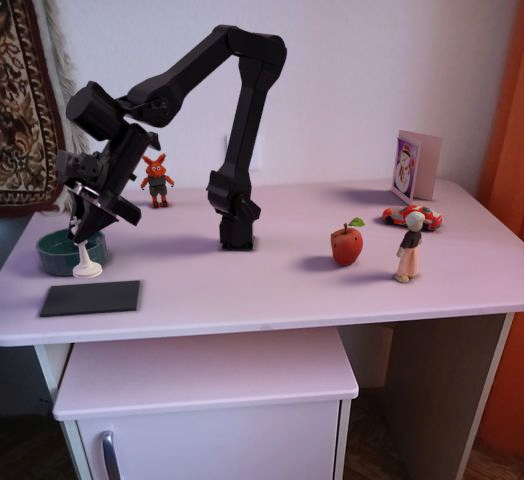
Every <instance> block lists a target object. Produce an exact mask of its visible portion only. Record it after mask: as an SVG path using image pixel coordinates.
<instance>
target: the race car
mask: <svg viewBox="0 0 524 480" xmlns="http://www.w3.org/2000/svg"><path fill="white" fill-rule="evenodd" d="M414 211H417V212H420V213H422V214H424V216H425V219H424V221H423V225H422V228H421V229H420V231H421V232H422V231H423V232H425V231H426V232H427V231H430V230H431V231H433V230H434V231H435V230H437V229H439V228H440V227H441V226H442V224H443V223H442V222H443V218H442V217H443V215H442V213H440V212H438V211H435V210H434V209H431V208H429V207H426V206H422V205H417V204H412V205H411V206H410V205H407V206H403V207H399V206H393V207H389V208H386V209H384V210H383V212H382V216H381V218H382V220H383V221H384V222H385V223H386V224H387V225H393V224H394V225H400V226H404V227H405V226H406V227H408V225H407V224H406V220H405V218H406V217H407V215H409V214H410V213H412V212H414Z"/></svg>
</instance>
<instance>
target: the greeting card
mask: <svg viewBox="0 0 524 480" xmlns="http://www.w3.org/2000/svg"><path fill="white" fill-rule="evenodd" d="M396 138H397V144H396V152H395V157H394V165H393V172H392V180H391V188H390V191H391V192H392V193H394V194H395V195H396V196H397V197H399V198H400V199H401V200H402V201H404V202H405V203H406V204H407V205H408V206H411V205H413V200H414V197H415V198H418V199H422V200H426V201H430V202H432V201H433V197H434V191H435V186H436V185H435V184H436V179H437V175H438V170H439V163H440V159H441V153H442V146H443V141H444V137H442V136H436V135H432V134H426V133H420V132H415V131H410V130H409V131H408V130H404V129H398V136H397V137H396Z"/></svg>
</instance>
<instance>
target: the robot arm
mask: <svg viewBox="0 0 524 480" xmlns="http://www.w3.org/2000/svg"><path fill="white" fill-rule="evenodd" d="M286 46H287V45H286V43H285V41H284V39H283V37H281V36H280V35H278V34H271V33H262V32H255V31H254V32H253V31H248V30H245V29H243V28H241V27H239V26H237V25H232V24H223V23H221V24H218V25H216V26H214V27H213V29H212V31H211V32H210V33H209V34H208V35H206V37H204V38H203V39H202V40H200V41H199V43H197V44H196V45H195V46H194V47H193V48H192V49H190V50H189V51H188V52H187V53H185V55H183V56H182V57H181V58H180V59H179V60H178V61H176V63H174V64H173V65H172V66H171V67H170V68H169V69H167V70H166V71H164V72H162V73H160V74H157V75H154V76H151V77H148V78H146V79H145V80H142V81H141V82H139V83H137V84H135V85H134V86H132V87H131V88H130V89H129V90H128V92H127V94H124V95H122V96H119V97H116V98H114V97H112V96H111V94H109V93H108V92H107V91H106V90H105V89H104V87H103V86H102V85H101V84H100V83H98V82H97V81H94V80H88V81H87V83H86V85H85V86H84V87H81V88H80V89H79V90H77V91H76V93H75V94H74V95H72V96H71V97H70V99H69V100H68V102H67V105H66V107H65V118H66V119H67V120H68V121H70V122H71V123H73V125H75V126H76V127H78V128H79V129H80V130H82V132H84V133H86V134H87V135H88V136H90V137H91V138H92V139H94V140H95V141H96V142H98V143H99V142H100V143H101V142H104V141H107V142H106V143H105V145H104V147H103V149H102V151H99V150H95V151H93V152H92V154H91V153H86V152H84V151H81V152H80V154H78V153H74V152H70V151H68V150H67V151H66V150H64V149H63V150H62V149H57V154H56V161H55V166H54V171H55V172H59V174H58V175H57V177H56V178H55V180H56V181H57V182H59V183H61V184H63V185H64V186H65V187H67V189H66V192H67V193H68V194H69V197H70V200H71V204H72V205H71V213H70V217H69V222H68V227H67V228H68V232H67V238H68V239H70V240H73V242H74V243H76V244H78V245H79V244H80V243H82V242H83V241H85V240H87V239H88V238H90V237H91V236H93V235H94V234H96V233H97V232H99V231H103V230H105V228H107V227H109V226H111V225H113V224H114V223H119V222H121V221H120V220H121V219H123V220H124V221H125V222H127V223H128V224H130V225H132V226H133V227H137V226H138V224H139V222H140V221H141V219H142V218H143V215H142V209H141V208H140V207H138V206H137V205H135V204H134V203H133V202H132V201H130V200H128V199H127V198H125V197H124V196H122V194H123V192H124V190H125V188H126V187H127V184H128V183H129V181H132V182H134V183H135V181H136V180H137V178H138V176H137V175H136V174H135V173H134V172H135V171H136V169H137V168H138V166H139V163H140V162H141V160H143V159H142V157H143V155H144V156H145V153H146V152H147V150H148V149H151V150H154V151H157V152H161V151H162V145H161V143H160V140H159V133H158V132H154V131H151V130H150V131H147V130H146V128H144V127H143V126H142V125H140V124H143V125H146V126H149V127H152V128H156V129H163V128H166V127H167V126H169V125H170V124H171V122H172V121H173V120H174V119H175V117H176V116H177V115H178V113H180V111H181V110H182V108H183V104H184V101H185V99H186V97H188V95H189V94H190V93H191V92H192V91H193V90H194V89H195V88H197V87H198V86H199V85H200V84H202V83H203V81H204V80H206V79H207V78H208V77H209V76H210V75H212V73H213V72H215V71H216V70H217V69H218V68H219V67H220V66H222V64H224V63H226V61H227V60H228V59H229V58H231V57H232V56H233V57H236V58H238V62H237V63H238V65H237V67H238V71H239V77H240V81H241V84H240V85H241V87H240V91H239V96H238V100H237V103H236V108H235V114H234V117H233V122H232V126H231V131H230V135H229V139H228V142H227V143H228V144H227V147H226V153H225V157H224V161H223V164H222V165H221V166H220V167H219V168H218V169H217V171H216V170H215V169H211V170H210V171H209V179H208V183H207V186H206V188H205V191H206V192H207V196H206V198H207V201H209V205H210V206H212V207H213V209H214V211H215V213H216V214H218V215H220V216H221V220H220V222H219V225H218V228H219V229H218V230H219V231H218V232H219V243H220V244H221V250H222V251H253V250H254V246H255V238H256V237H255V235H254V223H255V221H258V220H259V219H260V217H261V213H262V208H261V207H260V206H259V205H258V204H257V203H255V202H254V201H253V200H252V199H251V198H252V190H253V186H252V181H251V175H250V171H249V170H250V166H251V161H252V158H253V154H254V149H255V146H256V142H257V137H258V134H259V129H260V125H261V121H262V118H263V112H264V109H265V104H266V102H267V101H266V100H267V97H268V93H269V91H270V89H272V87H273V86H274V85H275V83H276V82H278V80H280V77H281V75H282V71H283V69H284V67H285V64H286V61H287V57H288V47H286ZM125 117H126V118H128V119H132V120H134V121H136V122H131V123H130V122H129V121H127V119H125ZM74 217H76V218H77V220H81V222H80V223H79V224H78V228H77V231H76V233H75V235H74V234H73V232H72V231H71V229H72V228H73V227H75V224H72V225H71V222H70V221H74ZM118 217H120V218H121V219H118Z"/></svg>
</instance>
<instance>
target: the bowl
mask: <svg viewBox="0 0 524 480" xmlns="http://www.w3.org/2000/svg"><path fill="white" fill-rule="evenodd" d="M67 232H68V227H67V228H62V229H58V230H54V231H52V232H48V233H47V234H45V235H42V237H40V238H39V239H38V240H37V241H36V242H35V250H36V254H37V257H38V260H39V263H40V267H41V268H42V270H43V271H45V272H46V273H48V274H50V275H57V276H74V275H73V269H74V267H75V266H77V265H79V263H80V252H79V246H78V245H75V244H74V242H73V240H70V239H68V238H67ZM85 248H86V251H87V253H88V256H89V259H90V261H92V262H96V263H98V264H100V265H101V267H102V266H103V265H105V264H106V263H107V261H108V260H109V258H110V256H109V255H110V254H109V250H108V244H107V239H106V234H105V233H104V232H103V231H102V230H100V231H99V232H97V233H96V234H94V235H93V236H91V237H90V238H88V239H87V243H86V244H85Z"/></svg>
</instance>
